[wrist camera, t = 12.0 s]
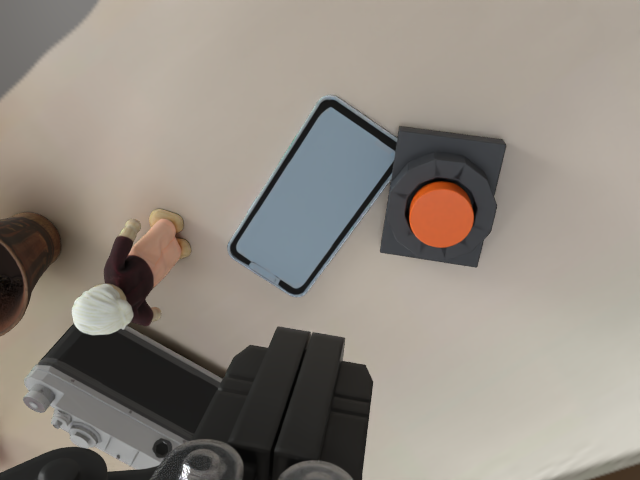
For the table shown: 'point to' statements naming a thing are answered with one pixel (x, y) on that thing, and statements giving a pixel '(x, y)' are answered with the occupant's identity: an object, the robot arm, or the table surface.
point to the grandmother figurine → (132, 276)
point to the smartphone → (315, 196)
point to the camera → (121, 394)
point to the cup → (23, 262)
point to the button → (441, 214)
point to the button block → (442, 165)
